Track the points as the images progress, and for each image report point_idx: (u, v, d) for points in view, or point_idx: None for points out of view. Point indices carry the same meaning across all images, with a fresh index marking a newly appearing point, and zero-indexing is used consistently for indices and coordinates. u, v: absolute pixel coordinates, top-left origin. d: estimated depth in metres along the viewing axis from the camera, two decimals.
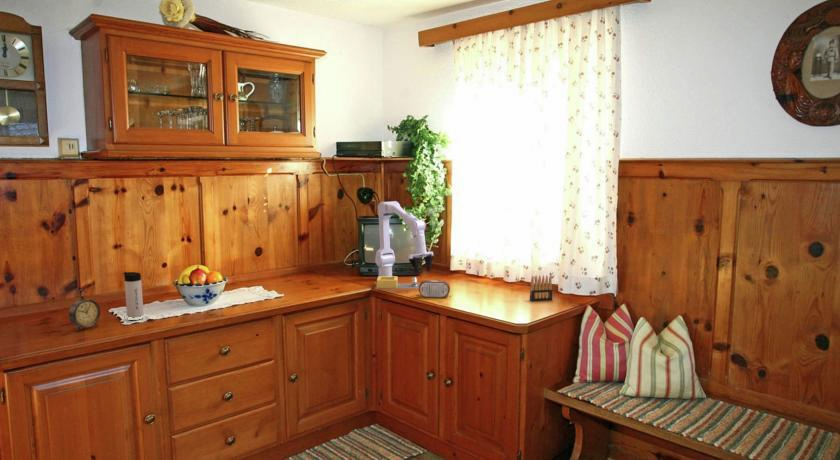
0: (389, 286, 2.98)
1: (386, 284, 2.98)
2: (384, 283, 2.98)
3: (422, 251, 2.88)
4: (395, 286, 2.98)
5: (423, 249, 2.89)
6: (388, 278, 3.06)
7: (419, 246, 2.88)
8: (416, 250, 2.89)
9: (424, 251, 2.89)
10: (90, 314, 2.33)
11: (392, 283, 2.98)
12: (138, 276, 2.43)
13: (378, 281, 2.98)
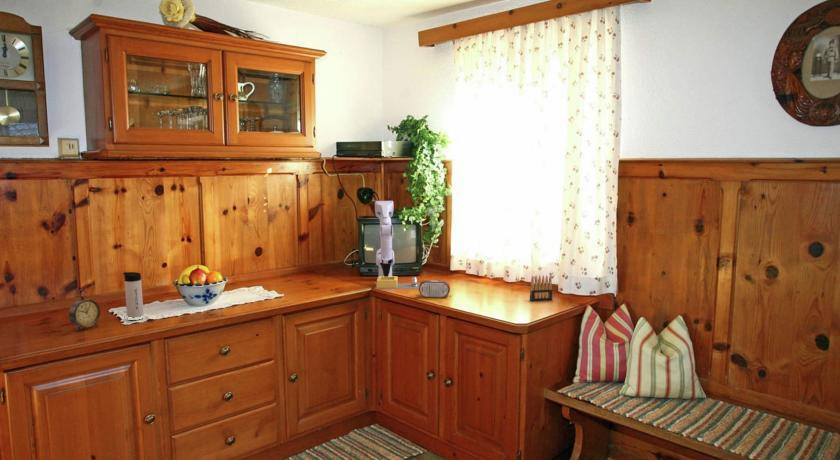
0: (389, 286, 2.98)
1: (386, 284, 2.98)
2: (384, 283, 2.98)
3: (391, 255, 2.96)
4: (395, 286, 2.98)
5: (391, 253, 2.96)
6: (388, 278, 3.06)
7: (390, 250, 2.94)
8: (386, 254, 2.94)
9: (391, 255, 2.97)
10: (90, 314, 2.33)
11: (392, 283, 2.98)
12: (138, 276, 2.43)
13: (378, 281, 2.98)
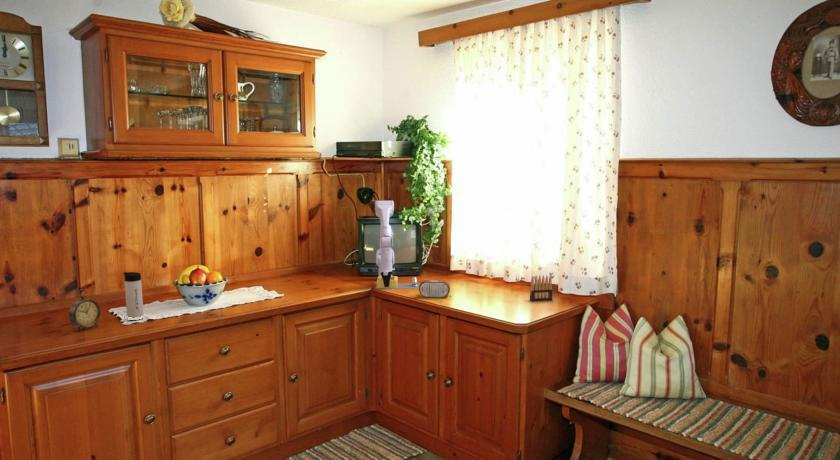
0: (389, 286, 2.98)
1: None
2: None
3: (391, 267, 2.96)
4: (395, 286, 2.98)
5: None
6: None
7: (390, 262, 2.95)
8: (386, 266, 2.95)
9: None
10: (90, 314, 2.33)
11: (392, 283, 2.98)
12: (138, 276, 2.43)
13: (378, 281, 2.98)
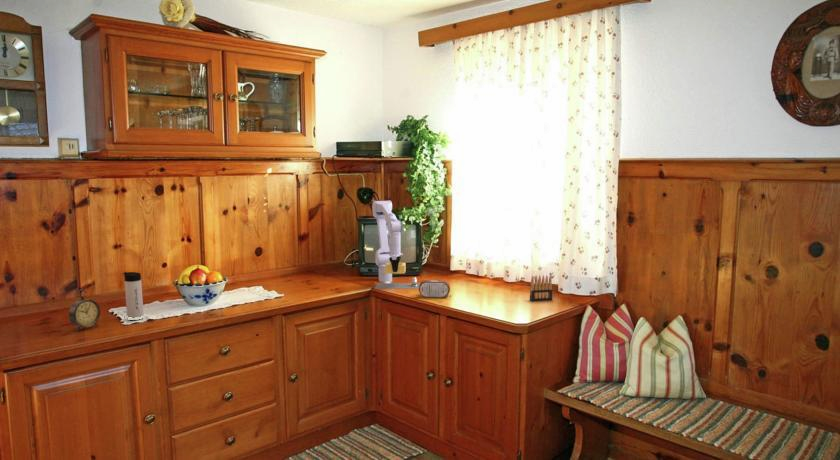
0: (397, 271, 2.97)
1: None
2: None
3: (400, 252, 2.95)
4: (403, 271, 2.97)
5: (400, 250, 2.96)
6: None
7: (398, 247, 2.94)
8: (395, 251, 2.94)
9: (400, 252, 2.97)
10: (90, 314, 2.33)
11: (400, 268, 2.97)
12: (138, 276, 2.43)
13: (386, 266, 2.97)
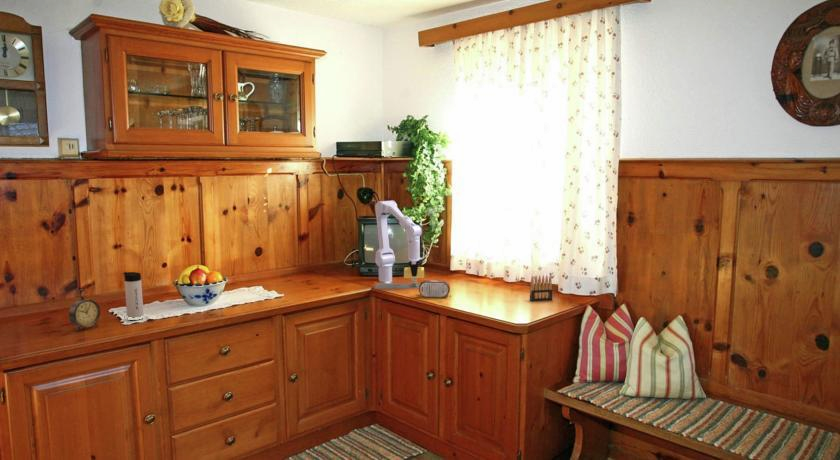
0: (416, 276, 2.97)
1: None
2: (411, 273, 2.97)
3: (419, 256, 2.96)
4: (422, 276, 2.97)
5: (419, 254, 2.96)
6: None
7: (418, 251, 2.94)
8: (414, 255, 2.94)
9: (419, 256, 2.97)
10: (90, 314, 2.33)
11: (419, 273, 2.97)
12: (138, 276, 2.43)
13: (405, 271, 2.97)
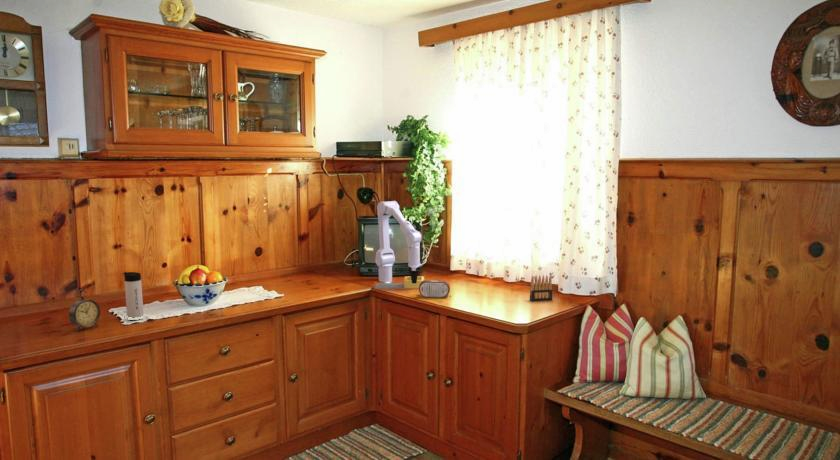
0: (416, 286, 2.97)
1: (414, 284, 2.97)
2: (411, 283, 2.97)
3: (419, 262, 2.96)
4: None
5: (419, 260, 2.96)
6: None
7: (418, 258, 2.95)
8: (414, 262, 2.94)
9: (419, 262, 2.97)
10: (90, 314, 2.33)
11: (419, 283, 2.97)
12: (138, 276, 2.43)
13: (405, 281, 2.97)
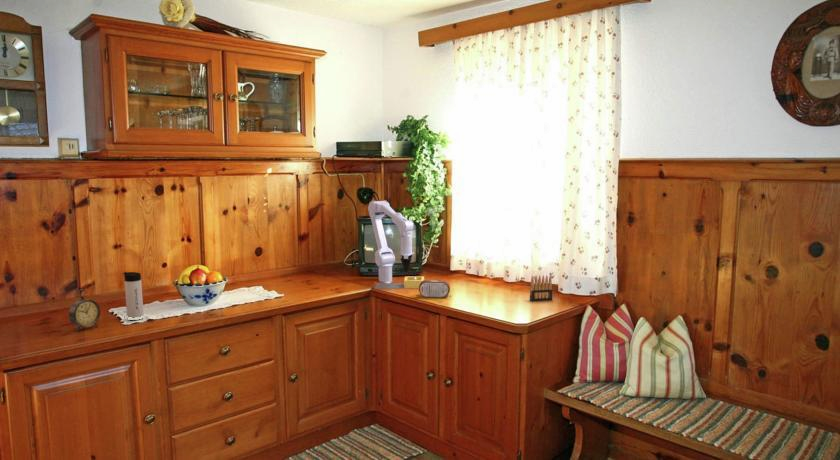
0: (416, 286, 2.97)
1: (414, 284, 2.97)
2: (411, 283, 2.97)
3: (411, 251, 2.99)
4: None
5: (411, 249, 3.00)
6: None
7: (410, 246, 2.98)
8: (406, 250, 2.97)
9: (411, 251, 3.00)
10: (90, 314, 2.33)
11: (419, 283, 2.97)
12: (138, 276, 2.43)
13: (405, 281, 2.97)
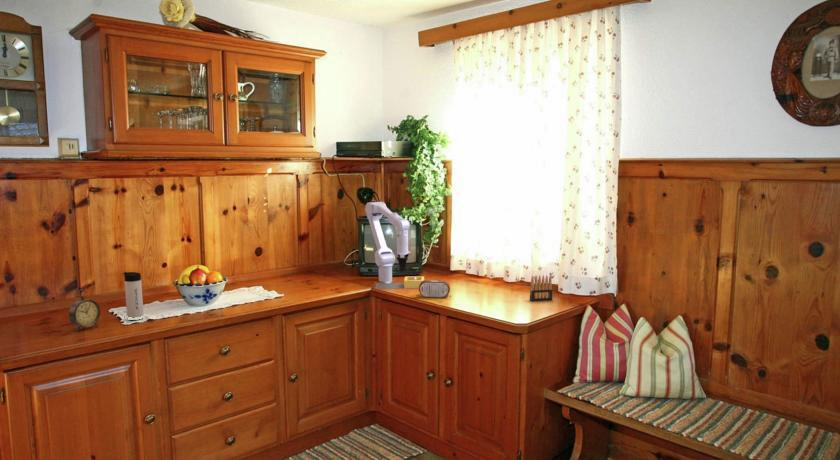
0: (416, 286, 2.97)
1: (414, 284, 2.97)
2: (411, 283, 2.97)
3: (407, 250, 3.01)
4: None
5: None
6: None
7: (406, 245, 3.00)
8: (403, 249, 2.99)
9: None
10: (90, 314, 2.33)
11: (419, 283, 2.97)
12: (138, 276, 2.43)
13: (405, 281, 2.97)
